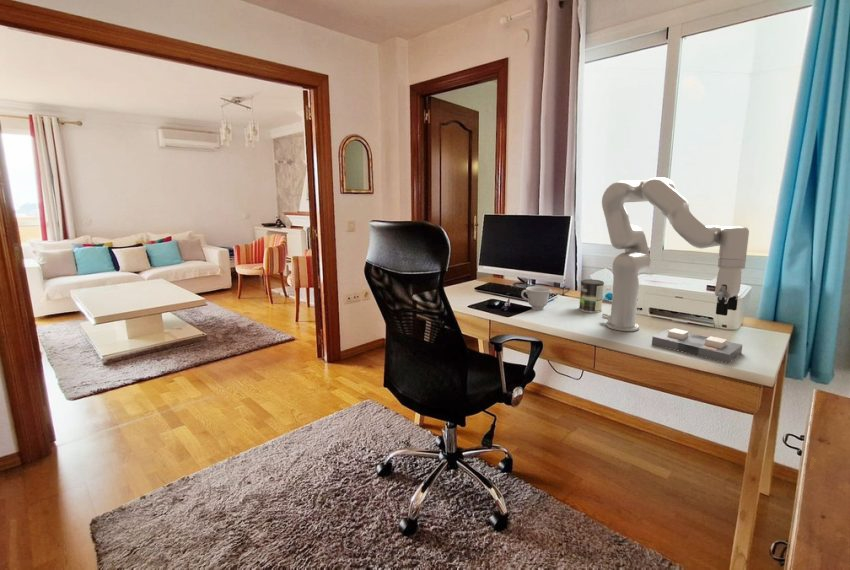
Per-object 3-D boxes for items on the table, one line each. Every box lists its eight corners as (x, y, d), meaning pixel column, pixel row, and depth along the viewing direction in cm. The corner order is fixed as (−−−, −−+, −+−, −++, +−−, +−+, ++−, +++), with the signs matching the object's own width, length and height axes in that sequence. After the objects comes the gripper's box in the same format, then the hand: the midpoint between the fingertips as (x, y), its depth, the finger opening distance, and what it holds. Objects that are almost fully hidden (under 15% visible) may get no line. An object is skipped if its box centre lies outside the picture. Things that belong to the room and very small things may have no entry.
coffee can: (584, 313, 197) (586, 283, 194) (575, 307, 208) (577, 279, 205) (605, 312, 198) (608, 283, 195) (596, 306, 208) (598, 279, 205)
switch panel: (651, 344, 156) (652, 336, 155) (667, 336, 164) (668, 328, 164) (728, 363, 137) (729, 354, 137) (741, 352, 146) (742, 344, 145)
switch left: (667, 338, 155) (668, 331, 155) (673, 335, 158) (673, 328, 158) (682, 341, 151) (683, 334, 151) (687, 338, 155) (688, 331, 154)
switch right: (704, 347, 146) (705, 339, 146) (709, 343, 149) (710, 336, 149) (721, 351, 142) (722, 342, 142) (726, 347, 145) (727, 339, 145)
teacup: (515, 306, 210) (516, 287, 208) (542, 304, 213) (543, 285, 211) (526, 313, 199) (527, 292, 197) (555, 310, 202) (556, 290, 200)
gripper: (726, 259, 150) (722, 306, 154) (709, 265, 140) (704, 314, 143) (752, 261, 145) (746, 309, 148) (736, 267, 134) (730, 319, 137)
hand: (726, 312), depth 146 cm, fingers open, 9 cm apart
